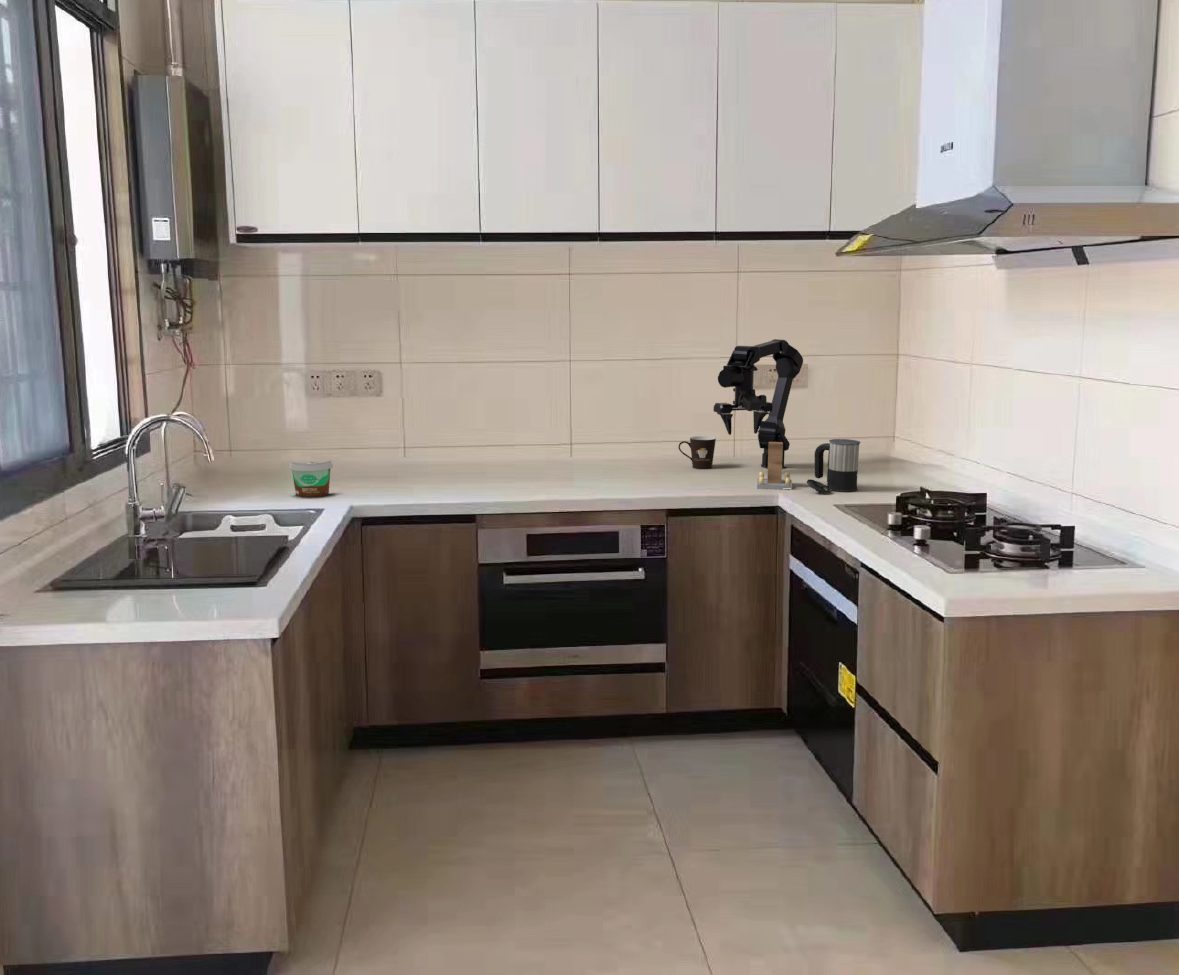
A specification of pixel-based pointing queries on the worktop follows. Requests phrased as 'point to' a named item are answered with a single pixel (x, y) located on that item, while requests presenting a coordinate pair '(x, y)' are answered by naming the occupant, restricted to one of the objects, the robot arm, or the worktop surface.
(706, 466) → the coffee mug
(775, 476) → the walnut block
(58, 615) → the worktop surface
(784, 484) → the peg stand
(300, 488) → the food container
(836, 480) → the milk frother
